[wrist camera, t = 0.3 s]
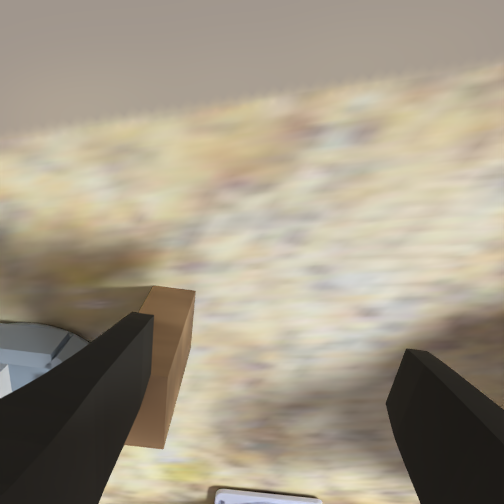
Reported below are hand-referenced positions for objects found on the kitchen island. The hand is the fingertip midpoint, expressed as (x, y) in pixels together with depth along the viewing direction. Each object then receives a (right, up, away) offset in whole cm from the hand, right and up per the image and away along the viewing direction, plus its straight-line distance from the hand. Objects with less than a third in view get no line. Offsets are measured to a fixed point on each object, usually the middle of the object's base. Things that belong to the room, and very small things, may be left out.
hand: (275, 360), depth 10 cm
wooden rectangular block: (-5, -1, +11) cm, 12 cm away
